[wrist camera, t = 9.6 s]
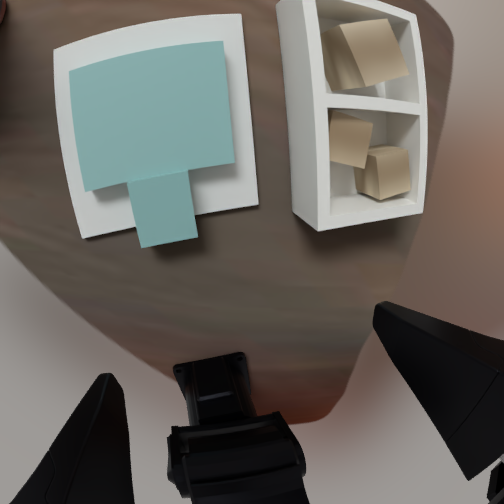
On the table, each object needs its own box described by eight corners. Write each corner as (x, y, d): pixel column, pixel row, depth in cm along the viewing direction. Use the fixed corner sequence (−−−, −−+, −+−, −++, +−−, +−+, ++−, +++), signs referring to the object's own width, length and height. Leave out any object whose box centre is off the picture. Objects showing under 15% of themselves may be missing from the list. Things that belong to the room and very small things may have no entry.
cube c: (372, 77, 17) (409, 74, 13) (331, 91, 17) (365, 86, 13) (352, 30, 15) (387, 18, 11) (308, 40, 15) (339, 24, 11)
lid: (237, 220, 19) (243, 228, 17) (105, 246, 17) (100, 256, 16) (220, 46, 14) (224, 38, 12) (75, 74, 12) (66, 70, 11)
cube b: (339, 161, 19) (364, 168, 16) (302, 153, 18) (324, 159, 15) (347, 121, 18) (373, 123, 15) (310, 111, 17) (333, 109, 14)
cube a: (385, 180, 21) (410, 190, 18) (355, 189, 20) (380, 200, 18) (381, 144, 19) (407, 149, 17) (350, 150, 19) (376, 156, 16)
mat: (256, 202, 19) (258, 204, 19) (83, 236, 17) (82, 238, 16) (239, 15, 13) (240, 13, 13) (55, 51, 11) (53, 49, 11)
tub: (389, 197, 22) (422, 212, 18) (292, 211, 20) (317, 231, 16) (382, 24, 15) (415, 14, 12) (275, 5, 13) (299, -18, 10)
